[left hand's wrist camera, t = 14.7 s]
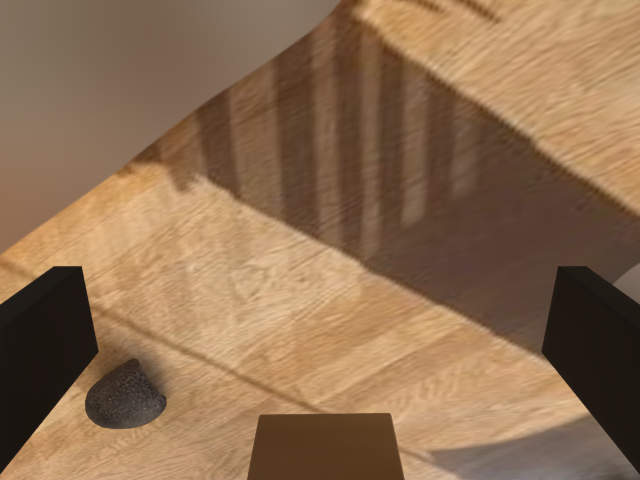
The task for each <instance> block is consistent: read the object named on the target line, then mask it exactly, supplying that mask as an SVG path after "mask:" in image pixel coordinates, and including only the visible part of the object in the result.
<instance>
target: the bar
mask: <svg viewBox="0 0 640 480" xmlns="http://www.w3.org/2000/svg"><path fill="white" fill-rule="evenodd" d="M247 480H405V479H404V474H403V469H402V465H401V460H400V455H399V450H398V445H397V440H396V436H395V431H394V426H393V421H392V416H391V414H390V413H357V414H274V415H260V416H259V419H258V425H257V430H256V435H255V440H254V446H253V451H252V456H251V461H250V467H249V472H248V477H247Z"/></svg>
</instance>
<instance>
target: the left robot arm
mask: <svg viewBox="0 0 640 480" xmlns="http://www.w3.org/2000/svg"><path fill="white" fill-rule="evenodd" d="M98 352H99V351H98V346H97V341H96V336H95V331H94V326H93V321H92V316H91V311H90V306H89V301H88V296H87V291H86V286H85V281H84V275H83V270H82V266H54V267H52V268H51V269H49V270H48V271H47V272H45V273H44V274H42V275H41V276H40V277H38V278H37V279H35V280H34V281H33V282H31V283H30V284H28V285H27V286H26V287H24V288H23V289H21V290H20V291H19V292H17V293H16V294H14V295H13V296H12V297H10V298H9V299H7V300H6V301H5V302H3V303H2V304H0V474H1V473H2V472H3V470H4V469H5V468H6V467H7V465H8V464H9V463H10V462H11V460H12V459H13V458H14V457H15V455H16V454H17V453H18V452H19V450H20V449H21V448H22V447H23V445H24V444H25V443H26V442H27V440H28V439H29V438H30V437H31V435H32V434H33V433H34V432H35V430H36V429H37V428H38V427H39V425H40V424H41V423H42V422H43V420H44V419H45V418H46V417H47V415H48V414H49V413H50V412H51V410H52V409H53V408H54V407H55V406H56V404H57V403H58V402H59V401H60V399H61V398H62V397H63V396H64V394H65V393H66V392H67V391H68V389H69V388H70V387H71V386H72V384H73V383H74V382H75V381H76V379H77V378H78V377H79V376H80V374H81V373H82V372H83V371H84V369H85V368H86V367H87V366H88V364H89V363H90V362H91V361H92V359H93V358H94V357H95V356H96V354H97V353H98ZM541 352H542V353H543V354H544V356H545V357H546V358H547V359H548V361H549V362H550V363H551V364H552V366H553V367H554V368H555V369H556V371H557V372H558V373H559V374H560V376H561V377H562V378H563V379H564V381H565V382H566V383H567V384H568V386H569V387H570V388H571V389H572V391H573V392H574V393H575V394H576V396H577V397H578V398H579V399H580V401H581V402H582V403H583V404H584V406H585V407H586V408H587V409H588V410H589V412H590V413H591V414H592V415H593V417H594V418H595V419H596V420H597V422H598V423H599V424H600V425H601V427H602V428H603V429H604V430H605V432H606V433H607V434H608V435H609V437H610V438H611V439H612V440H613V442H614V443H615V444H616V445H617V447H618V448H619V449H620V450H621V452H622V453H623V454H624V455H625V457H626V458H627V459H628V460H629V462H630V463H631V464H632V465H633V467H634V468H635V469H636V470H637V472H638V473H639V474H640V305H639V304H638V303H637V302H635V301H634V300H633V299H631V298H630V297H628V296H627V295H626V294H624V293H623V292H621V291H620V290H619V289H617V288H616V287H614V286H613V285H612V284H610V283H609V282H607V281H606V280H605V279H603V278H602V277H600V276H599V275H598V274H596V273H595V272H593V271H592V270H591V269H589V268H588V267H586V266H558V270H557V275H556V281H555V286H554V291H553V296H552V301H551V306H550V311H549V316H548V321H547V326H546V331H545V336H544V341H543V346H542V351H541Z"/></svg>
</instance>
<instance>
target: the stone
mask: <svg viewBox="0 0 640 480" xmlns="http://www.w3.org/2000/svg"><path fill="white" fill-rule="evenodd" d="M165 407H166V397H164V396H163V395H160V394H159V393H158V392H157V391H156V390H155V388H154V387H153V386H152V384H151V382H150V381H149V380H148V378H147V377H146V375H145V374H144V372H143V371H142V369H141V367H140V363H139V361H138V360H137V359H132V360H129V361H128V362H126V363H125V364H123V365H122V366H120V367H119V368H117V369H116V370H114V371H111V372H109V373H108V374H106V375H105V376H104V377H103V378H101V379H100V380H99V381H98V382H97V383H96V384H94V385H93V386H92V387H91V389H90V390H89V391H88V393H87V396H86V400H85V409H86V413H87V415H88V417H89V418H90V419H91V420H92V421H93V422H94V423H95V424H97V425H99V426H101V427H103V428H110V429H130V428H135V427H139V426H143V425H145V424H148V423H150V422H151V421H153V420H154V419H155V418H157V417H158V416H159V415H160V414H161V413H162V412H163V410H164V409H165Z"/></svg>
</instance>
